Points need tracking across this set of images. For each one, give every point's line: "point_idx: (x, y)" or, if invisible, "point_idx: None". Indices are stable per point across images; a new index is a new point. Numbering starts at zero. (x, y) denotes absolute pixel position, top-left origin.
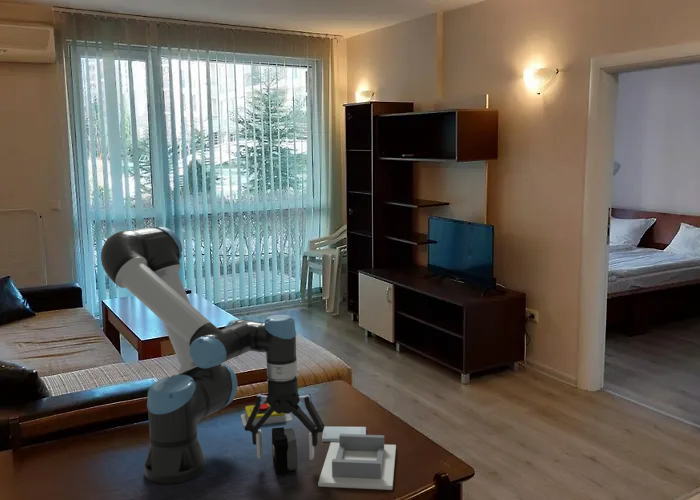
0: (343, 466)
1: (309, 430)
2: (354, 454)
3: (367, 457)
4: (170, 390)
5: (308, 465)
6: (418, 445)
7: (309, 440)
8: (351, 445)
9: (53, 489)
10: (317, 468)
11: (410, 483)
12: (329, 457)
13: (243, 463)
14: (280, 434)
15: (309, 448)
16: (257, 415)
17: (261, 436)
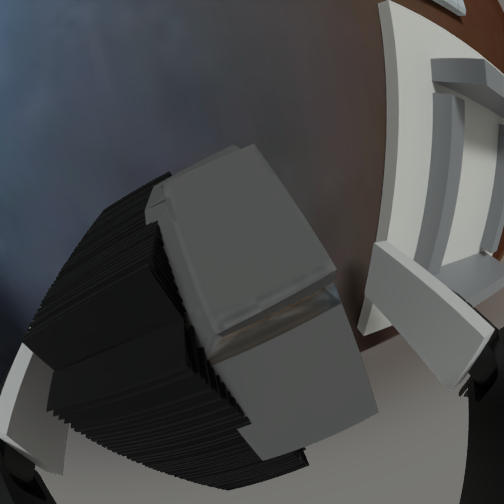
0: None
1: (470, 409)
2: (466, 125)
3: (485, 150)
4: None
5: (318, 196)
6: None
7: (431, 366)
8: (476, 95)
9: None
10: (357, 217)
11: (498, 245)
12: (409, 149)
13: (8, 255)
14: (231, 463)
15: (401, 333)
16: None
17: (24, 389)
